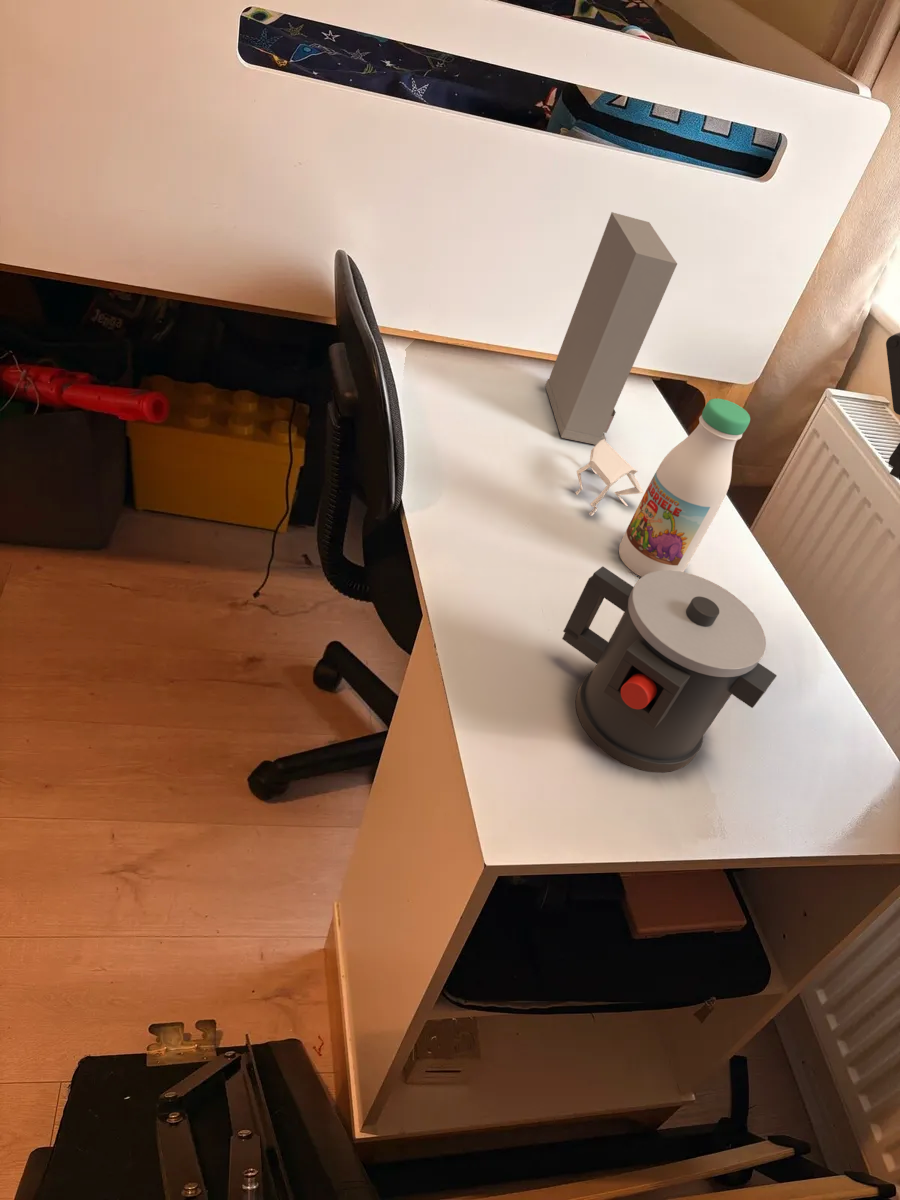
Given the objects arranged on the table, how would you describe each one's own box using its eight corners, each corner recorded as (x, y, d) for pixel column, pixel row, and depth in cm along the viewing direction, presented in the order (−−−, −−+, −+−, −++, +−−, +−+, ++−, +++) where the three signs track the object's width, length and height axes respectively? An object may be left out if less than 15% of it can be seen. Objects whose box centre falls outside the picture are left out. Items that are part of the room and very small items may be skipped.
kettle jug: (672, 817, 74) (754, 703, 65) (510, 693, 80) (565, 573, 71) (732, 738, 83) (811, 629, 74) (583, 632, 89) (640, 519, 80)
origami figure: (644, 524, 107) (661, 490, 104) (582, 518, 105) (597, 484, 101) (610, 466, 116) (624, 433, 113) (551, 459, 113) (564, 426, 110)
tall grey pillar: (603, 448, 119) (684, 266, 103) (560, 439, 117) (635, 253, 102) (584, 396, 129) (655, 223, 113) (544, 387, 128) (610, 211, 112)
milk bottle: (644, 534, 106) (721, 384, 93) (694, 574, 102) (781, 424, 89) (603, 549, 101) (678, 393, 88) (653, 592, 97) (739, 436, 85)
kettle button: (640, 715, 70) (653, 695, 69) (615, 697, 71) (627, 676, 70) (649, 705, 72) (662, 685, 70) (625, 687, 72) (636, 667, 71)
